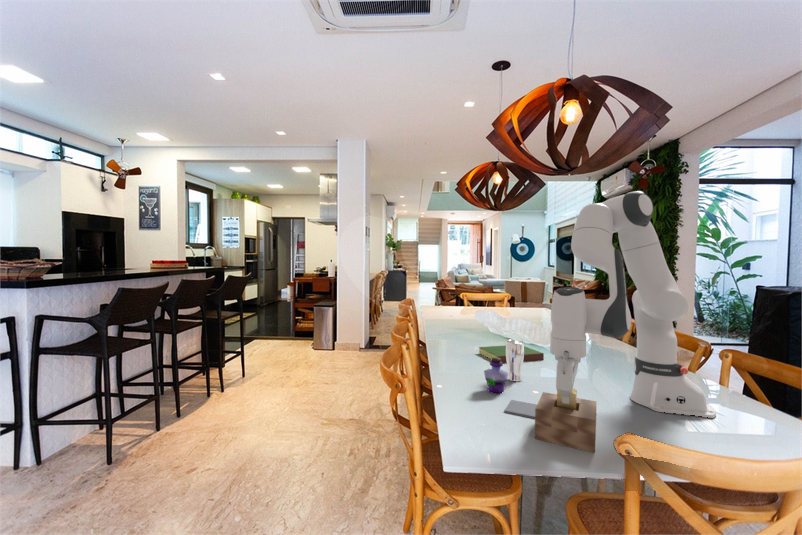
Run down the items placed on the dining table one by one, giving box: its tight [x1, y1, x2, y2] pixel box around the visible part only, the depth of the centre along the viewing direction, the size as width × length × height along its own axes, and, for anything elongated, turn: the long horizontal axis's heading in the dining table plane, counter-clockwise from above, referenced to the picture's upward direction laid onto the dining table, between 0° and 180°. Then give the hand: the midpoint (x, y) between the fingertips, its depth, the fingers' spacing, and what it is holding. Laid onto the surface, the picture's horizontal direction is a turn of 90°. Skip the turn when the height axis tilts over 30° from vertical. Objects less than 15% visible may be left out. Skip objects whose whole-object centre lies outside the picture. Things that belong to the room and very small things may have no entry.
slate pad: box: [503, 399, 538, 420], centre depth 115 cm, size 10×10×1 cm
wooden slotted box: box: [534, 391, 598, 453], centre depth 99 cm, size 14×14×8 cm
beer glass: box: [505, 339, 525, 382], centre depth 144 cm, size 7×7×15 cm
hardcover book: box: [478, 345, 545, 364], centre depth 179 cm, size 25×19×4 cm
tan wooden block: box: [556, 388, 578, 411], centre depth 99 cm, size 4×4×8 cm
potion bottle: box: [483, 358, 508, 394], centre depth 131 cm, size 9×9×12 cm
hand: (566, 398), depth 99 cm, fingers open, 5 cm apart
